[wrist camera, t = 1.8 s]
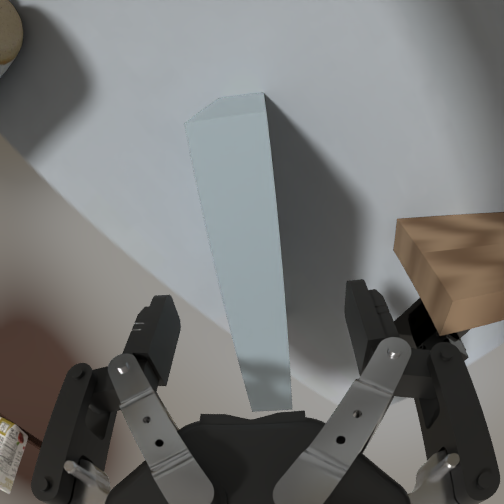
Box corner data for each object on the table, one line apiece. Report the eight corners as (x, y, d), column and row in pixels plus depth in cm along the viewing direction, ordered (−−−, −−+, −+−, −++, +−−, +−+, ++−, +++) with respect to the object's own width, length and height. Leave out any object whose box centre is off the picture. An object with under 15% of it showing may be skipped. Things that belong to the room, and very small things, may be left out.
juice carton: (17, 423, 48) (-6, 486, 33) (32, 438, 53) (13, 496, 37) (-4, 413, 48) (-27, 472, 32) (12, 429, 53) (-8, 484, 37)
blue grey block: (218, 98, 15) (184, 123, 8) (263, 92, 15) (266, 111, 8) (254, 319, 24) (252, 411, 17) (286, 317, 24) (292, 409, 17)
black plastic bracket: (363, 327, 25) (376, 369, 21) (425, 268, 22) (450, 308, 18) (434, 362, 29) (446, 396, 25) (483, 320, 25) (502, 352, 21)
